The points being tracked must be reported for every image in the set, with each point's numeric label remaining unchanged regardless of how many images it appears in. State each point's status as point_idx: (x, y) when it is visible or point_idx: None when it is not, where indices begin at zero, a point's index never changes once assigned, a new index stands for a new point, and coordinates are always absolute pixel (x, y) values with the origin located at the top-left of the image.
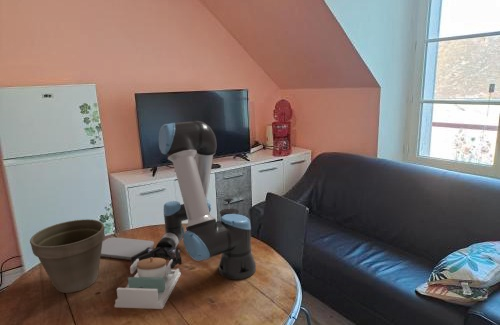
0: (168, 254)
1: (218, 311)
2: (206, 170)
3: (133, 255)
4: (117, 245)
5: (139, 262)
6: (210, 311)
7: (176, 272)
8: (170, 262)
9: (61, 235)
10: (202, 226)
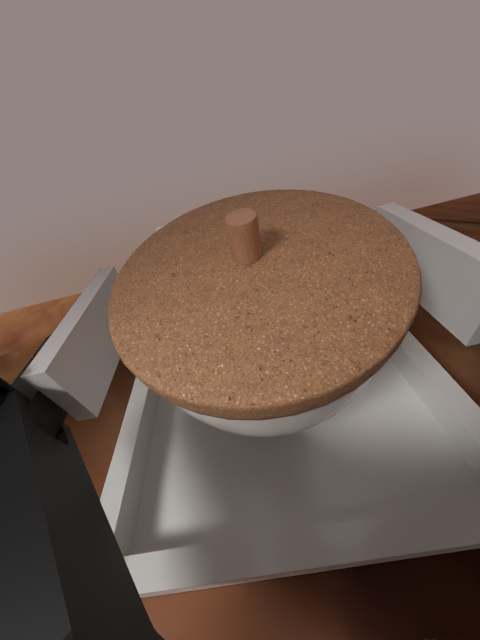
0: (51, 563)
1: (8, 329)
2: None
3: None
4: None
5: (356, 214)
6: (30, 323)
7: (106, 496)
8: (64, 323)
9: None
10: None
